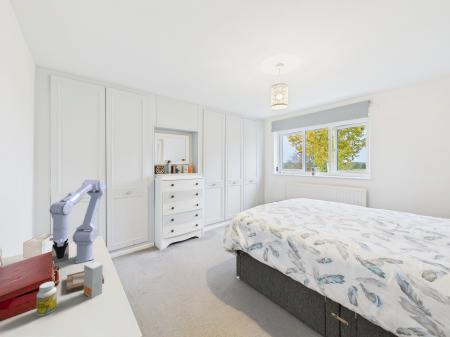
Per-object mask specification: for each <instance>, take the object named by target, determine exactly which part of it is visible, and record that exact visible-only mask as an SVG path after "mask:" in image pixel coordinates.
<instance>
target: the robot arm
mask: <svg viewBox="0 0 450 337" xmlns="http://www.w3.org/2000/svg"><path fill="white" fill-rule="evenodd" d="M106 188H107V185H106V181H105V180H103V179H85V180H84V181H83V182H82V185H81V186H80V187H79V188H78V189H77V190H76V191H74V192H69V193H68V194H67V195H66V196H65V197H63V198H62V199H60V201H55V202H54V203H53V204H52V205H50V208H49V210H48V211H49V214H51V218H52V237H50V238H49V241H52V243H53V244H52V246H51V248H52V247H53V248H54V250H55V252H56V256H57V259H62V258H63V257H64V253H65V249H66V247H67V245H68V243H69V242H68V241H69V238H70V235H69V233H70V231H69V229H70V226H69V225H70V224H69V222H70V214H71V212H72V211H73V209H74V207H75V205H77V204H78V203H79V202H80V201H81V200H82V199H81V198H82V197H83V196H84V195H85V194H87V195H88V196H90V199H89V203H88V205H87V208H86V211H85V214H84V217H83V221H82V224H81V225H79V226H78V227H76V229H75V232H74V233H73V235H72V241H73V242H74V244H75V245H76V253H75V254H76V255H75V257H74V259H75V264H80V263H85V262H88V261H89V262H90V261H92V260H94V259H95V258H94V253H93V246H94V245H93V243H94V242H95V241H96V239H97V234H98V233H97V232H98V228H97V227H96V226H95V221H96V217H97V213H98V210H99V207H100V204H101V200H102V196H103V195H104V194H105V191H106Z"/></svg>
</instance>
